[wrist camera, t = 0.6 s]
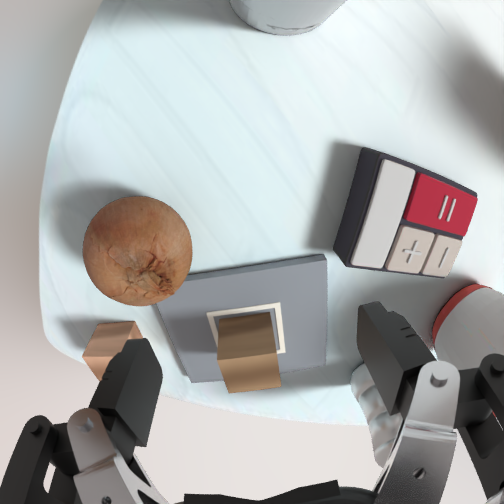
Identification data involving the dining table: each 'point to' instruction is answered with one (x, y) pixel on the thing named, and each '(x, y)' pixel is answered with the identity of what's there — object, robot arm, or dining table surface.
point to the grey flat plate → (251, 313)
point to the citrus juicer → (470, 327)
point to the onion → (137, 251)
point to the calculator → (402, 218)
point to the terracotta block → (108, 344)
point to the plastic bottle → (375, 414)
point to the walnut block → (248, 353)
